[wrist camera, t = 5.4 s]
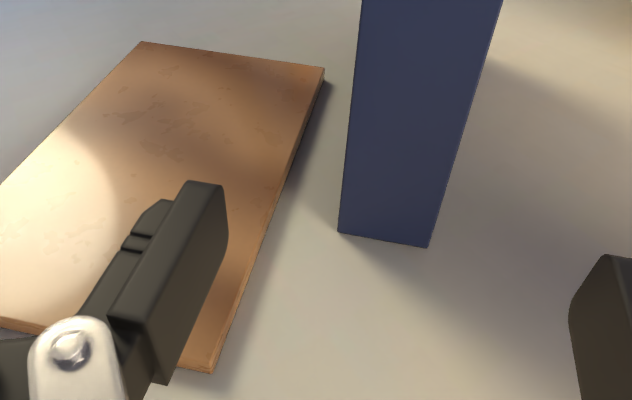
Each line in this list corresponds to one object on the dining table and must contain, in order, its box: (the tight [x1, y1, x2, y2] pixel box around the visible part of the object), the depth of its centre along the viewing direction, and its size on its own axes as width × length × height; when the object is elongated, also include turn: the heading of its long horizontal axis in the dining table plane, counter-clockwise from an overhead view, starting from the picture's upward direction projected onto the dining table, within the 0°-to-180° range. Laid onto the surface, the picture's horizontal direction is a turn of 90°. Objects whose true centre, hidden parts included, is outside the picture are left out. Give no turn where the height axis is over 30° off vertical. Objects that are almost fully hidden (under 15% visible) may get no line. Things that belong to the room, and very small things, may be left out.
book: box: [337, 0, 503, 248], centre depth 25 cm, size 20×4×13 cm, turn 168°
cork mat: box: [0, 41, 325, 374], centre depth 25 cm, size 20×12×1 cm, turn 168°
